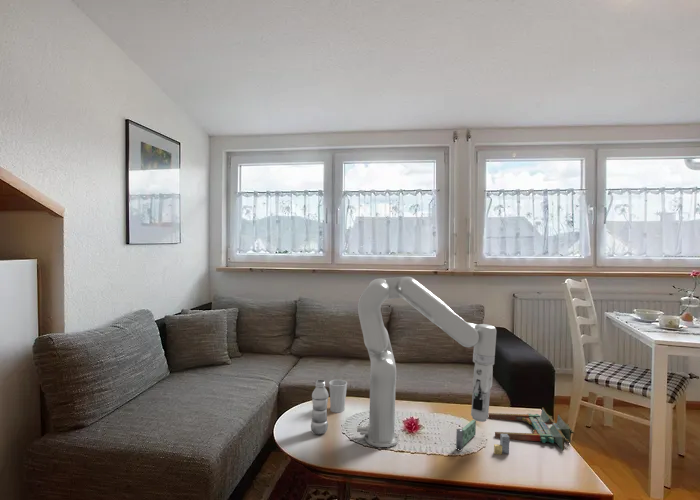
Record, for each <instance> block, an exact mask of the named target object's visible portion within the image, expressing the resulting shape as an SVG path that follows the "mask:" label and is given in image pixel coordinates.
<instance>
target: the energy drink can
mask: <svg viewBox="0 0 700 500" xmlns="http://www.w3.org/2000/svg"><path fill="white" fill-rule="evenodd" d="M475 386H476V385H475ZM479 390H480V391H482V389H480V388H479ZM479 394H481V392H479ZM471 395H472V396H471V399H472V400H471V411H470V412H471V413H470V416H471V419H472V420H476V422H480V423H484V422H485V423H486V421H487V420H488V419H489V414H488V413H490V412H489V411H490V410H489V409H490V398H491V397H490V395H491V388H490V384H489V390H488V391H487V392H486V393H484V392H483V396H482V400H483V406H482V411H479V410H476V409H473V400H474V389H473V388H472V394H471Z"/></svg>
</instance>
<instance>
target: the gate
mask: <svg viewBox="0 0 700 500" xmlns="http://www.w3.org/2000/svg"><path fill="white" fill-rule="evenodd" d="M476 426H477V421H476V420H474V419H472V420H471V421H469V423H467V424H466V425H465V426H463V428H461V429H462V430H463V447H465V445H466V444H467V442H468V443H469V441H471V440H472V439H471V438H473V437H475V436H476V429H477V427H476ZM474 435H475V436H474ZM470 439H471V440H470Z"/></svg>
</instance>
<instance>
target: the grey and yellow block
mask: <svg viewBox="0 0 700 500" xmlns="http://www.w3.org/2000/svg"><path fill="white" fill-rule="evenodd" d="M499 439H500V440H499V441H500V442H499V444H495V443H494V444H493V454H494V455H500V456H501V455H503V454H504V455H505V454H506V455H510V439H509V436H508V434H500V438H499Z"/></svg>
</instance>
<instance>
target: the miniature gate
mask: <svg viewBox="0 0 700 500" xmlns="http://www.w3.org/2000/svg"><path fill="white" fill-rule="evenodd" d="M488 419H494V420H503V421H519V422H520V421H521V422H526V423H528V425H531V426H532V428H533V430H532V432H531V433H527V432H507V431H494V437H495V438H496V439H500V434H508V436H509V440H510V441H511V440H512V441H513V440H514V441H529V442H531V441H532V442H541V443H546V442H547V443H548V442H549V443H552V444H555V443H556V444H557V446H558V447H559V449H560V450H561V451H564V450H565V442H568V443H569V444H571V443H572V442H571V441H572V439H571V437H572V434H574V435H576V432H575V431H574V430H573V429H572V428H571V427H570V423H566V421H564V420H563V418H562V417H561V415H560V414H557V420H556V422H555V421H554V419H553V416H552V415H549V414H548V413H547V411H546V409H545V408H544V407H541V413H540V414H538V413H535V414H531V413H527V414H526V413H525V414H524V413H498V412H496V413H494V412H488Z"/></svg>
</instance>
